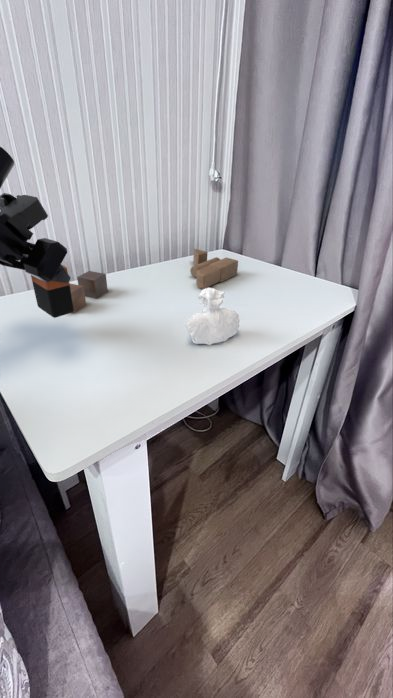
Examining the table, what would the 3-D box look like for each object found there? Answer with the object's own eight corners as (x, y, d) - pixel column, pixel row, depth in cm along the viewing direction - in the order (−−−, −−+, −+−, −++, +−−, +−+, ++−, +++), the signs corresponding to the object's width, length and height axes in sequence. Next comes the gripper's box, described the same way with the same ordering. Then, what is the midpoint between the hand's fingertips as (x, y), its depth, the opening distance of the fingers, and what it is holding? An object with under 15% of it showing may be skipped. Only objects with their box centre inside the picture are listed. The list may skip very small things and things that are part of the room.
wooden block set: (240, 256, 99) (205, 271, 87) (238, 274, 102) (204, 291, 90) (196, 244, 107) (158, 257, 95) (195, 261, 110) (158, 276, 98)
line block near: (73, 314, 76) (69, 293, 73) (55, 309, 77) (51, 289, 74) (86, 305, 80) (83, 286, 77) (69, 301, 81) (65, 282, 78)
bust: (233, 339, 73) (221, 290, 74) (251, 334, 66) (238, 280, 67) (184, 351, 69) (171, 298, 69) (198, 346, 62) (183, 288, 62)
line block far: (96, 299, 83) (94, 280, 80) (79, 295, 84) (76, 276, 82) (107, 292, 87) (105, 273, 84) (91, 288, 88) (89, 270, 86)
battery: (53, 319, 62) (43, 266, 56) (37, 307, 65) (25, 257, 60) (75, 312, 64) (67, 261, 59) (58, 301, 68) (48, 253, 63)
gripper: (44, 184, 45) (111, 248, 59) (-28, 171, 54) (46, 231, 67) (3, 253, 44) (81, 303, 58) (-64, 230, 52) (19, 278, 66)
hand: (56, 275), depth 62 cm, fingers closed on battery, 7 cm apart
